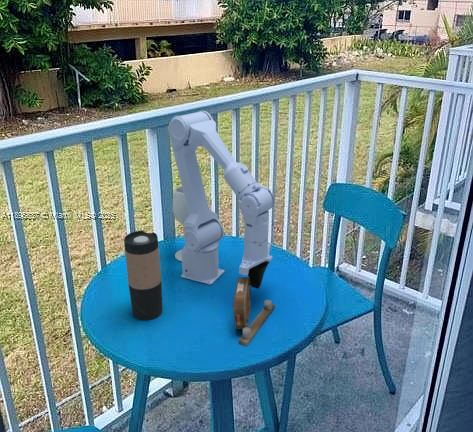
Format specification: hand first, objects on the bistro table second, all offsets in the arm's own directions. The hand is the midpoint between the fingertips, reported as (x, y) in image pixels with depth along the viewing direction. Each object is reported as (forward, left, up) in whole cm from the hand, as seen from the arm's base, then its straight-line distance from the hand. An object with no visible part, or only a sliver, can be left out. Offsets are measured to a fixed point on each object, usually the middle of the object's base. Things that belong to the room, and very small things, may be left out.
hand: (255, 286), depth 119 cm
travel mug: (-21, -17, -4) cm, 27 cm away
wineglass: (-27, +12, -4) cm, 30 cm away
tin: (+1, -9, -4) cm, 9 cm away
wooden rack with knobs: (+5, -10, -3) cm, 12 cm away
